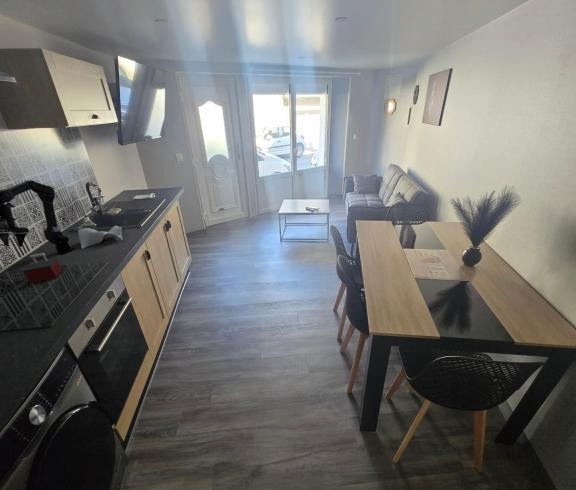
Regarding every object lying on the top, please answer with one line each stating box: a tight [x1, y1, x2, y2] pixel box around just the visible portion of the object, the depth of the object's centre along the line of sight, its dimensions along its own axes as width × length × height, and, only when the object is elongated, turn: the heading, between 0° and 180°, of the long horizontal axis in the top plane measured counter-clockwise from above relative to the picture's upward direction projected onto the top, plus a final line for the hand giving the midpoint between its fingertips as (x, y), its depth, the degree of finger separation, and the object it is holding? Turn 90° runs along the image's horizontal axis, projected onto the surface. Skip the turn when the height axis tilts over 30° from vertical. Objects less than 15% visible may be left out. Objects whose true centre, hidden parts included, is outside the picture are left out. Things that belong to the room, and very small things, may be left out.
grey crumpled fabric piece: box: [77, 225, 126, 250], centre depth 197 cm, size 25×19×10 cm
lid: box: [22, 252, 58, 273], centre depth 156 cm, size 11×12×5 cm
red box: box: [23, 258, 63, 284], centre depth 159 cm, size 10×12×6 cm
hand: (13, 246), depth 160 cm, fingers open, 9 cm apart
